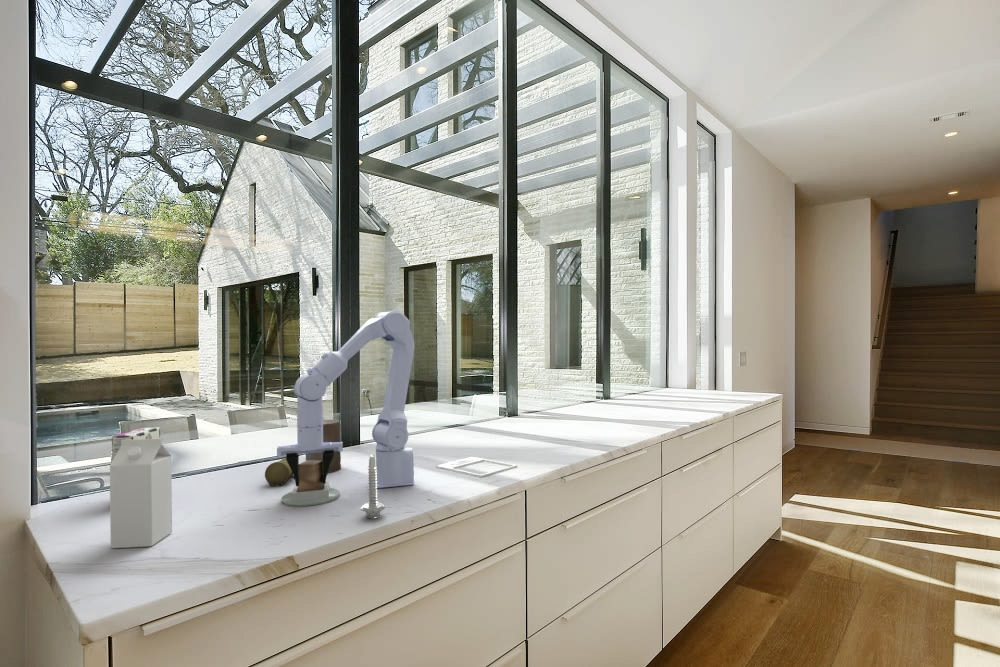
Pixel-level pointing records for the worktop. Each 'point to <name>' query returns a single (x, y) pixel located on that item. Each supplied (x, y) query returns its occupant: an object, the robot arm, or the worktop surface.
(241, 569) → the worktop surface
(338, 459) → the pillar candle
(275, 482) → the olive cylinder
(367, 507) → the screw
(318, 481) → the brown tall block
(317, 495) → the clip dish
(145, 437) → the candy bar box
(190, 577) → the worktop surface
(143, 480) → the milk carton
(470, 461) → the photo frame
